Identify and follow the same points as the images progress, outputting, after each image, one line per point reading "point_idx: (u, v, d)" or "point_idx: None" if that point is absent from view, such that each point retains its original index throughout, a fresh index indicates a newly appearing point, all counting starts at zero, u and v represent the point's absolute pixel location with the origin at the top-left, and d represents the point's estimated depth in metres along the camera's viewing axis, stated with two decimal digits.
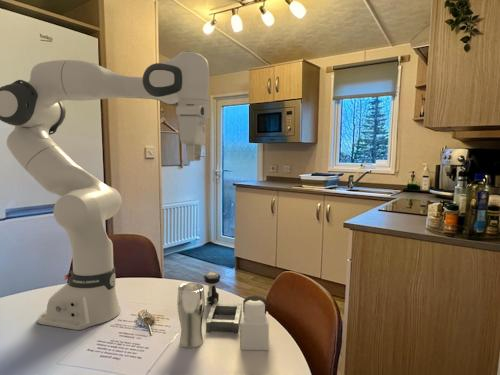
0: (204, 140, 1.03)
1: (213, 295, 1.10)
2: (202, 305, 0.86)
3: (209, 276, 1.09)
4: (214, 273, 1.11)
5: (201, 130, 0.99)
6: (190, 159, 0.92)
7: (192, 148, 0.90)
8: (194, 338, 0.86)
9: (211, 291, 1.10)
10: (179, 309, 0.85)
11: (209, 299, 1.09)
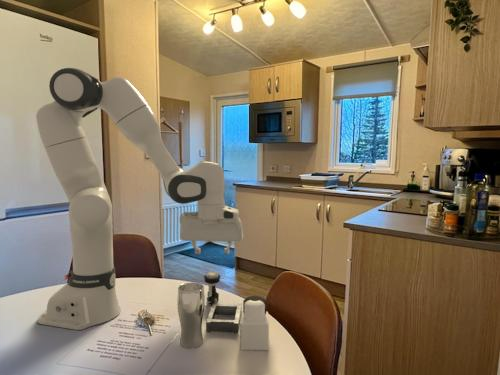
0: None
1: (213, 295, 1.10)
2: (202, 305, 0.86)
3: (209, 276, 1.09)
4: (214, 273, 1.11)
5: None
6: (228, 252, 1.09)
7: None
8: (194, 338, 0.86)
9: (211, 291, 1.10)
10: (179, 309, 0.85)
11: (209, 299, 1.09)
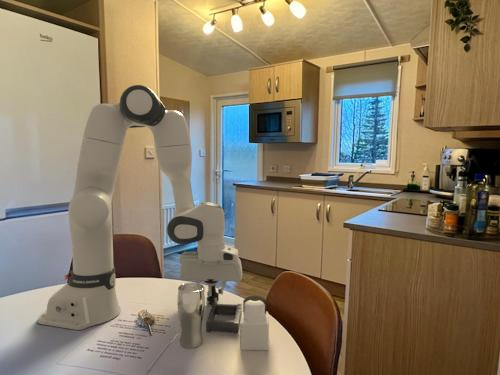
0: None
1: (213, 295, 1.10)
2: (202, 305, 0.86)
3: None
4: None
5: None
6: None
7: (226, 282, 1.11)
8: (194, 338, 0.86)
9: (211, 291, 1.10)
10: (179, 309, 0.85)
11: (209, 299, 1.09)
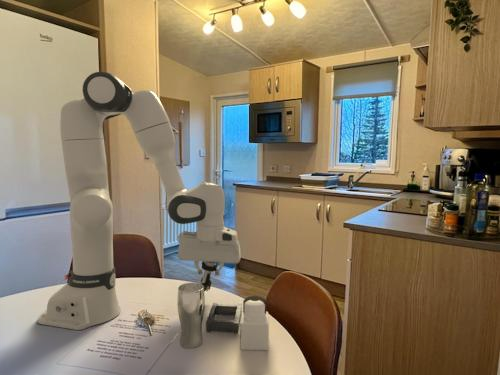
0: None
1: (206, 282, 1.10)
2: (202, 305, 0.86)
3: (207, 263, 1.09)
4: None
5: None
6: (219, 273, 1.10)
7: (223, 264, 1.10)
8: (194, 338, 0.86)
9: (205, 278, 1.10)
10: (179, 309, 0.85)
11: None
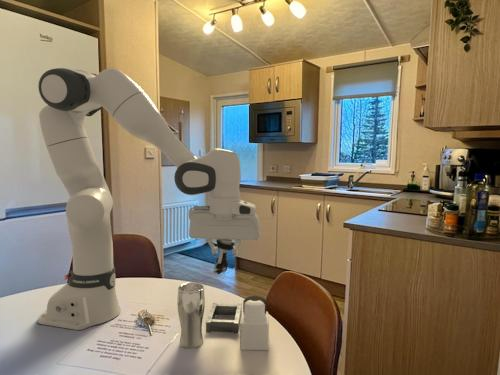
0: None
1: (223, 263, 0.97)
2: (202, 305, 0.86)
3: (223, 240, 0.96)
4: (228, 239, 0.98)
5: None
6: (237, 252, 0.97)
7: (241, 241, 0.97)
8: (194, 338, 0.86)
9: (221, 258, 0.97)
10: (179, 309, 0.85)
11: (217, 266, 0.96)
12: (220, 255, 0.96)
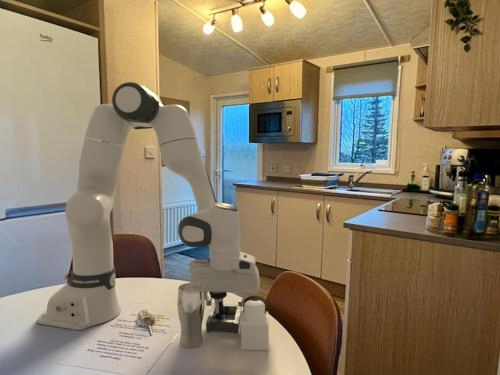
0: None
1: (220, 312, 0.98)
2: (202, 305, 0.86)
3: None
4: None
5: None
6: None
7: (247, 293, 0.99)
8: (194, 338, 0.86)
9: (218, 307, 0.98)
10: (179, 309, 0.85)
11: (216, 317, 0.98)
12: (216, 305, 0.98)
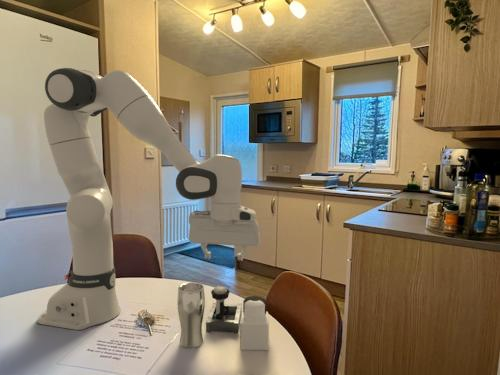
0: None
1: (221, 312, 0.98)
2: (202, 305, 0.86)
3: (217, 291, 0.97)
4: (223, 287, 0.99)
5: None
6: (242, 258, 0.97)
7: None
8: (194, 338, 0.86)
9: (219, 308, 0.98)
10: (179, 309, 0.85)
11: (217, 317, 0.98)
12: (217, 305, 0.98)
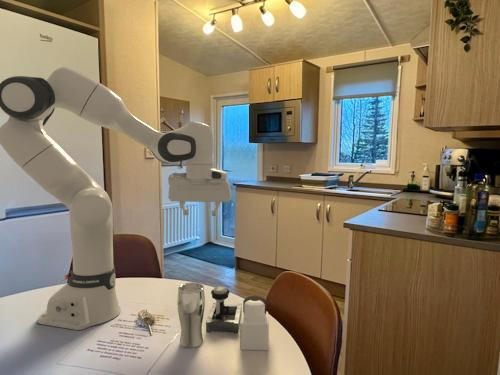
0: None
1: (221, 312, 0.98)
2: (202, 305, 0.86)
3: (217, 291, 0.97)
4: (222, 288, 0.99)
5: None
6: (216, 214, 1.10)
7: None
8: (194, 338, 0.86)
9: (219, 308, 0.98)
10: (179, 309, 0.85)
11: (217, 317, 0.98)
12: (217, 306, 0.98)
